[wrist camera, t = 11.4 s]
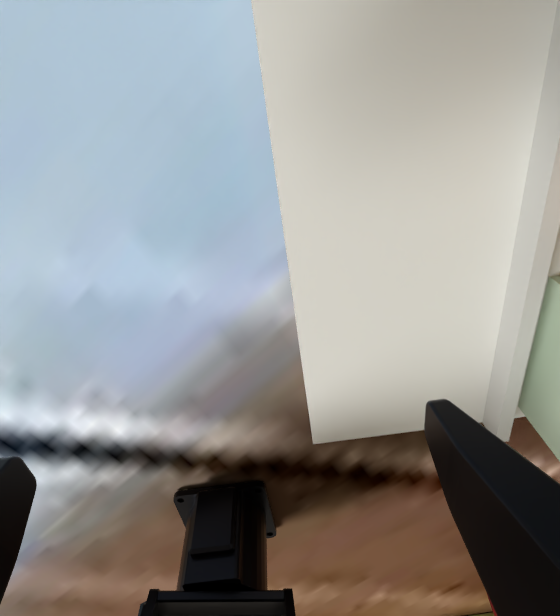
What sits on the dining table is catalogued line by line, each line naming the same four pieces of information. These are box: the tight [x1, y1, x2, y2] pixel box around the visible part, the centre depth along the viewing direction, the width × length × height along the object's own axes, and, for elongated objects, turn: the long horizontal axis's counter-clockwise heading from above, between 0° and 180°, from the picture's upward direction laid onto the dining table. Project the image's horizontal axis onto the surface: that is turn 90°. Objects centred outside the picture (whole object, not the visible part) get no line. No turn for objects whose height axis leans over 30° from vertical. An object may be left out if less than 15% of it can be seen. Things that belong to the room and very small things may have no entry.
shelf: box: [251, 0, 560, 444], centre depth 19 cm, size 24×20×3 cm
